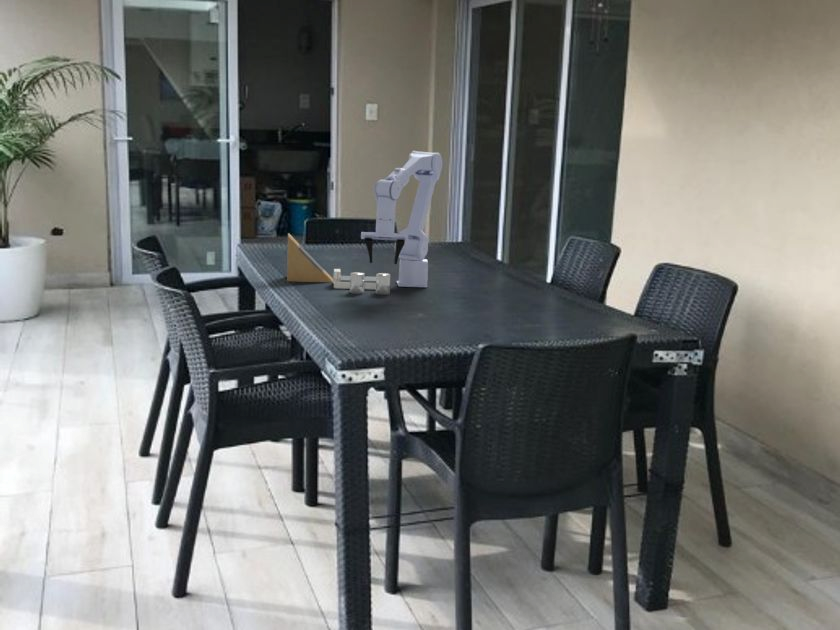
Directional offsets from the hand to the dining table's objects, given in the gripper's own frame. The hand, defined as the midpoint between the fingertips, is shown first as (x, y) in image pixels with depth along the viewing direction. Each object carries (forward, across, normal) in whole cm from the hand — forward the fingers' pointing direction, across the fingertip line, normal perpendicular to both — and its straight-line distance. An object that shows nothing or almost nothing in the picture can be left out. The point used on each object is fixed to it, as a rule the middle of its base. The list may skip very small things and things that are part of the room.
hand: (383, 263), depth 271 cm
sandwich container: (+10, -22, +19) cm, 31 cm away
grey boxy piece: (+9, -8, +10) cm, 16 cm away
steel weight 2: (+10, 0, 0) cm, 10 cm away
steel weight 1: (+10, -8, 0) cm, 12 cm away
